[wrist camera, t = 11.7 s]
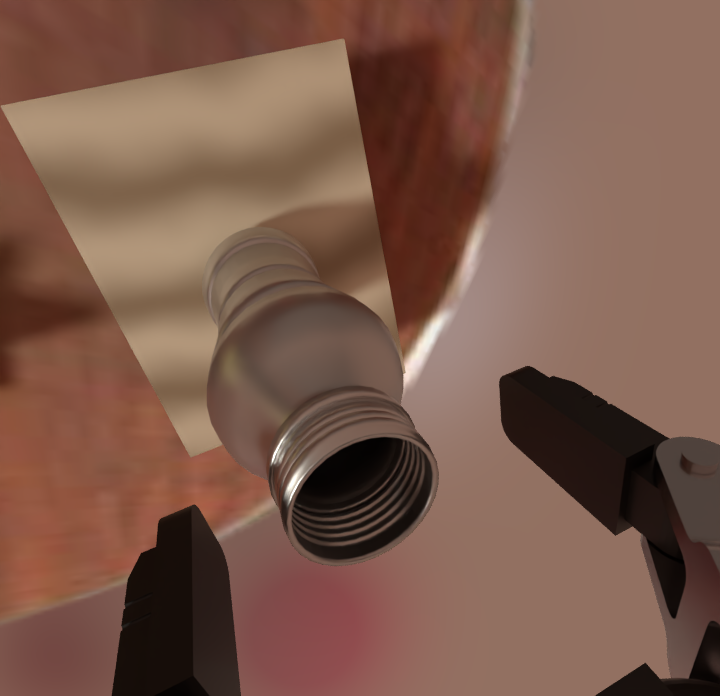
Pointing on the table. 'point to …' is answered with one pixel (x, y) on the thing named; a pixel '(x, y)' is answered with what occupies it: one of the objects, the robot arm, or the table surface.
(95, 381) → the table surface
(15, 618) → the table surface
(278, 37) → the table surface
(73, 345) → the table surface
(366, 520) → the plastic bottle
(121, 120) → the footstool
